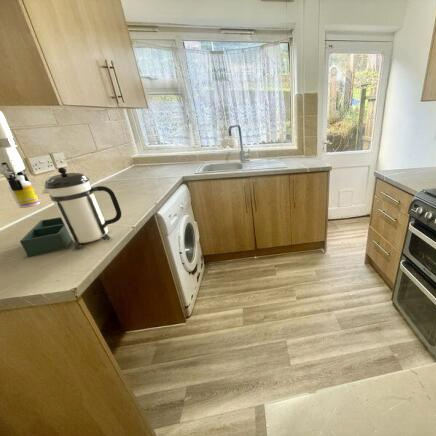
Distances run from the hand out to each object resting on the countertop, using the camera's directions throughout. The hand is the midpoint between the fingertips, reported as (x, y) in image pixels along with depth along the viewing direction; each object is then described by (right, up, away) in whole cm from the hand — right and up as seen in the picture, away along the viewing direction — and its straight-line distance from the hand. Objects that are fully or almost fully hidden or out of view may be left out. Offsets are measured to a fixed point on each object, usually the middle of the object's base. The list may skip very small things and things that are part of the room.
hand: (21, 187), depth 102 cm
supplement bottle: (0, -8, +3) cm, 8 cm away
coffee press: (+32, -21, 0) cm, 38 cm away
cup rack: (+15, -22, -1) cm, 27 cm away
